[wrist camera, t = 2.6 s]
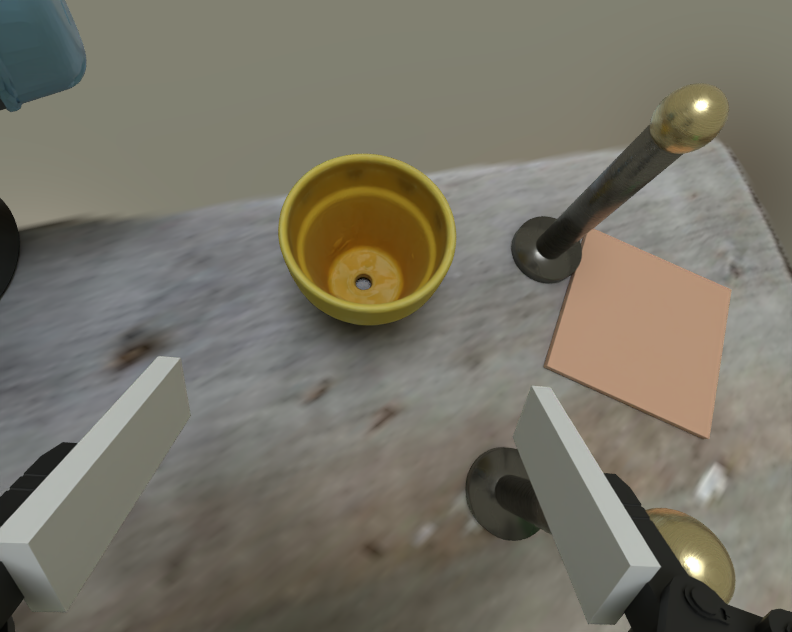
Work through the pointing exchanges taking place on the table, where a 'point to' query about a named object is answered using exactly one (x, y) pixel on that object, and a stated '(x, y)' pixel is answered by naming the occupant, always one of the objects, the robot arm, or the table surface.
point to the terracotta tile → (642, 333)
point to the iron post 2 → (522, 517)
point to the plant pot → (367, 237)
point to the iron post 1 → (621, 181)
